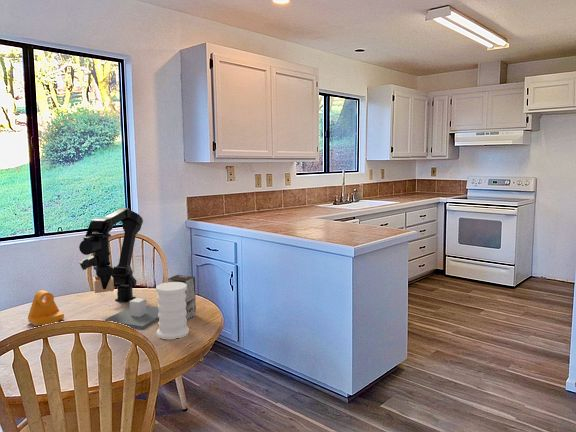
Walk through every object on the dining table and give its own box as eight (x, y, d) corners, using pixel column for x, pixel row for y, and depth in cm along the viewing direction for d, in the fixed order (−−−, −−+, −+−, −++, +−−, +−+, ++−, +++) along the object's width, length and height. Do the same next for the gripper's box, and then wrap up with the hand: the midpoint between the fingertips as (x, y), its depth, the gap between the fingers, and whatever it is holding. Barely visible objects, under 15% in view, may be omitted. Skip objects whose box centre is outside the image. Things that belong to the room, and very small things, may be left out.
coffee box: (196, 315, 182) (195, 276, 180) (186, 320, 177) (185, 280, 174) (178, 311, 186) (177, 274, 184) (168, 316, 180) (167, 278, 178)
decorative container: (163, 342, 156) (161, 292, 153) (152, 332, 165) (150, 284, 162) (194, 335, 162) (193, 287, 160) (181, 325, 172) (180, 279, 169)
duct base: (134, 306, 192) (134, 290, 191) (171, 311, 186) (171, 294, 185) (102, 323, 173) (101, 305, 172) (142, 329, 167) (141, 310, 166)
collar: (93, 288, 186) (92, 276, 185) (111, 286, 189) (111, 274, 188) (94, 293, 179) (94, 281, 179) (114, 290, 183) (113, 278, 182)
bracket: (35, 328, 168) (33, 297, 166) (28, 323, 173) (26, 293, 171) (65, 320, 176) (63, 290, 174) (57, 315, 181) (55, 287, 179)
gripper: (78, 247, 186) (80, 283, 188) (81, 256, 170) (83, 295, 172) (107, 244, 191) (108, 280, 194) (112, 253, 175) (114, 291, 177)
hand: (103, 286), depth 184 cm, fingers closed on collar, 7 cm apart
